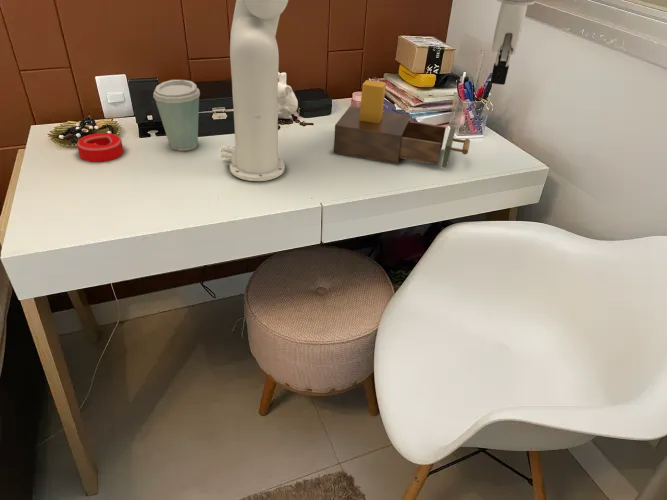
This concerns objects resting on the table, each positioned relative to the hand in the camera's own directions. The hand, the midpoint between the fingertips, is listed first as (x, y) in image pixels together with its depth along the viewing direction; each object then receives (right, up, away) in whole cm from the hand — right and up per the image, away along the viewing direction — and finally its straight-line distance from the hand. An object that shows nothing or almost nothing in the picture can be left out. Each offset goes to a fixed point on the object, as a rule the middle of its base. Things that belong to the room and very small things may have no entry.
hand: (497, 82), depth 119 cm
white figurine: (-51, 0, +31) cm, 60 cm away
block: (-28, -5, +13) cm, 31 cm away
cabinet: (-27, -11, +17) cm, 34 cm away
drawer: (-14, -14, +14) cm, 24 cm away
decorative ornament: (-92, -15, +5) cm, 93 cm away
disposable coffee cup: (-75, -12, +11) cm, 76 cm away
